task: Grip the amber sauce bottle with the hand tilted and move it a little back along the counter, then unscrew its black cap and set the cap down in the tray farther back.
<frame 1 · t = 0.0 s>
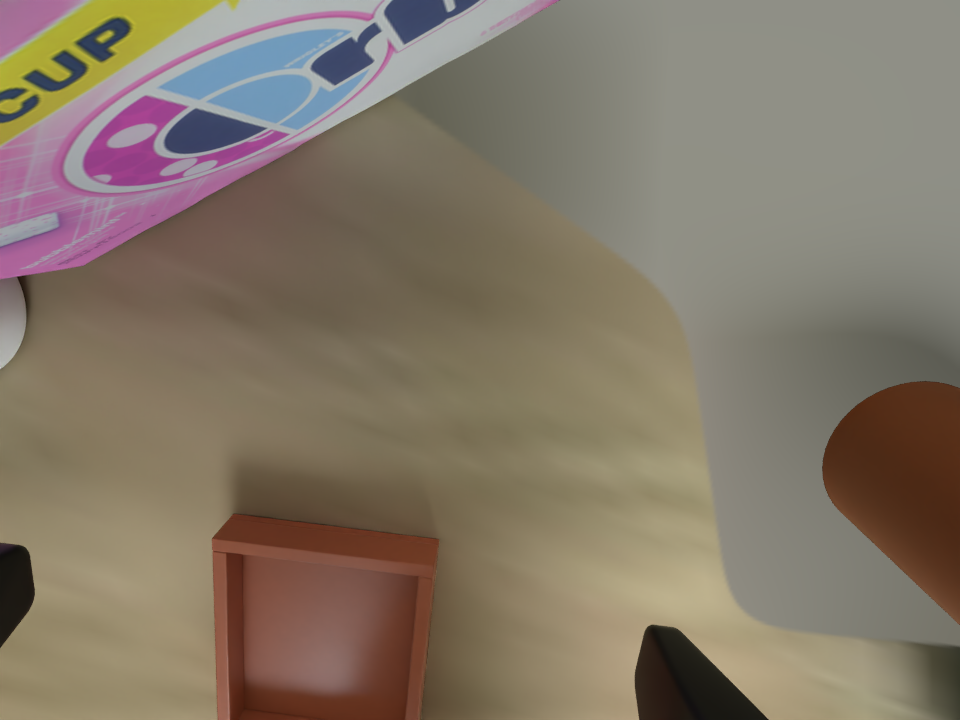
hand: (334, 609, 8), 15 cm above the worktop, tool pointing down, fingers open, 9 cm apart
tray: (331, 629, 26), on the worktop
gum box: (272, 26, 19), on the worktop
sauce bottle: (906, 458, 23), on the worktop
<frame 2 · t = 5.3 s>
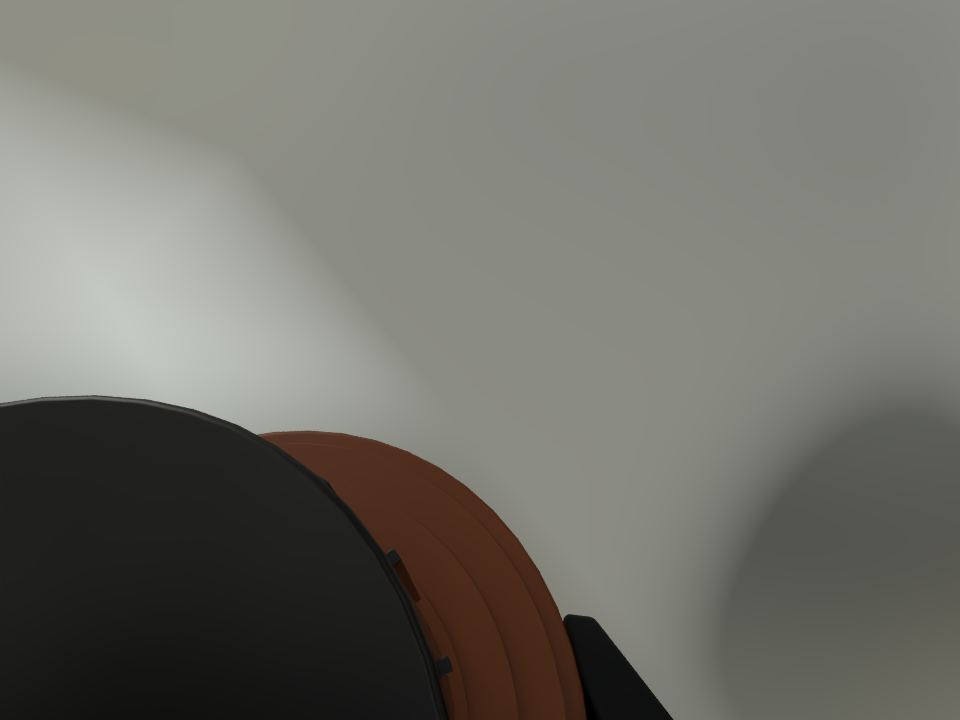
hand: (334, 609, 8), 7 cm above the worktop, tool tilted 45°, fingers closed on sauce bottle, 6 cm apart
sauce bottle: (371, 695, 13), on the worktop, touching gripper
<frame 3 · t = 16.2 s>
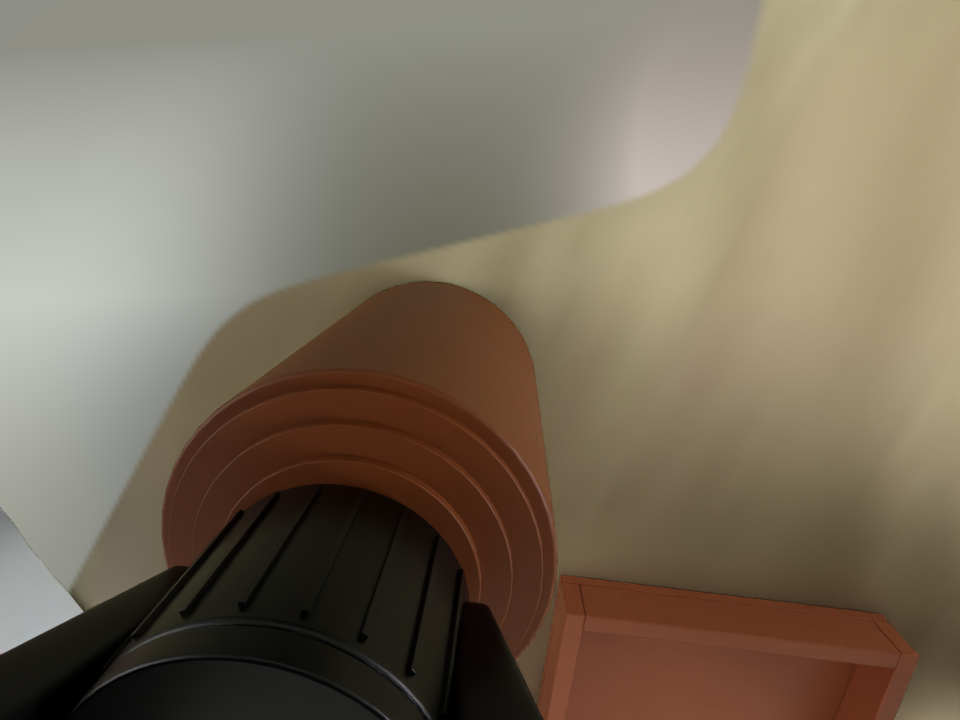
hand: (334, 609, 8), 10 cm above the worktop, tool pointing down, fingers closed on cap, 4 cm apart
tray: (691, 697, 21), on the worktop
gum box: (40, 673, 22), on the worktop
sauce bottle: (430, 385, 18), on the worktop
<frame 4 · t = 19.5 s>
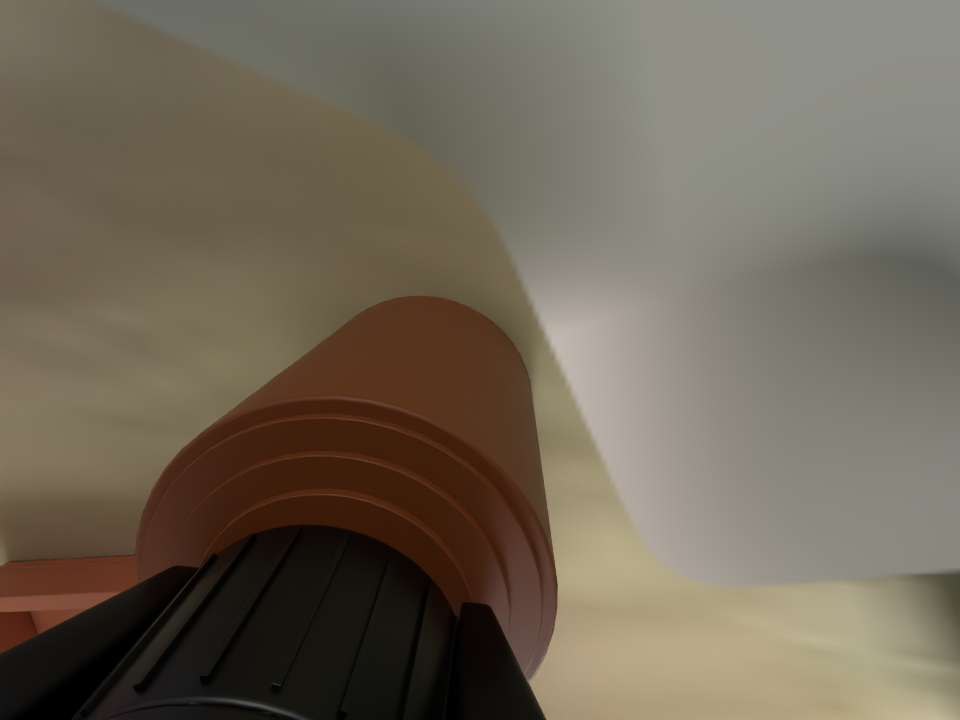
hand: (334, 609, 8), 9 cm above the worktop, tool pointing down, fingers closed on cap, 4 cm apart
tray: (171, 683, 21), on the worktop
sauce bottle: (423, 402, 17), on the worktop, touching gripper
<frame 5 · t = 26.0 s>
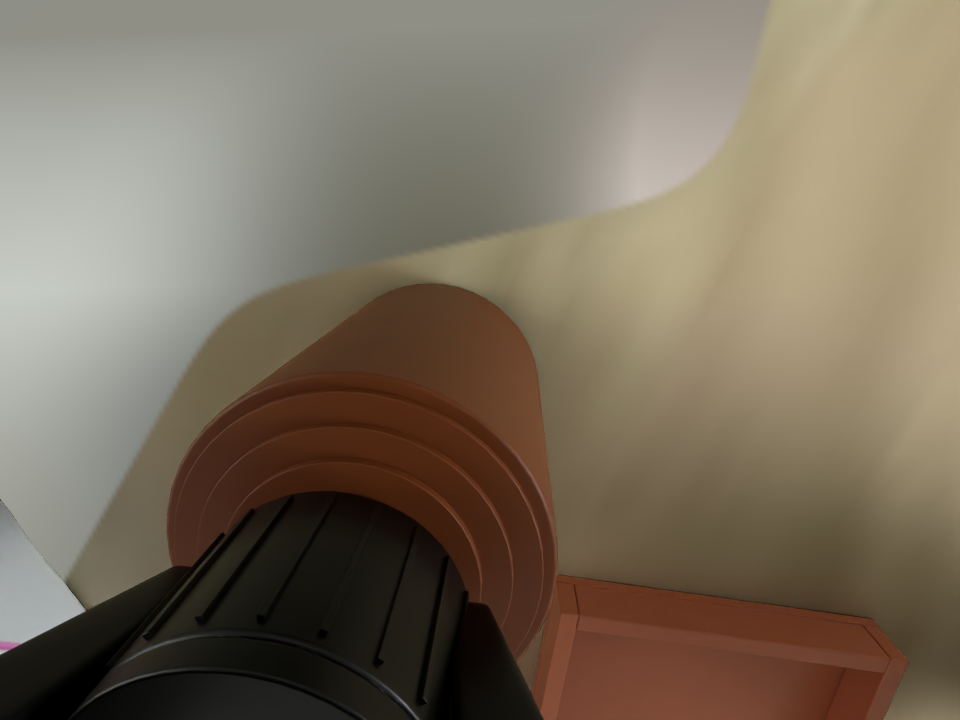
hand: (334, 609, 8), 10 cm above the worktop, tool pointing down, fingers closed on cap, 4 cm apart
tray: (682, 698, 21), on the worktop
gum box: (34, 663, 22), on the worktop
sauce bottle: (433, 387, 18), on the worktop
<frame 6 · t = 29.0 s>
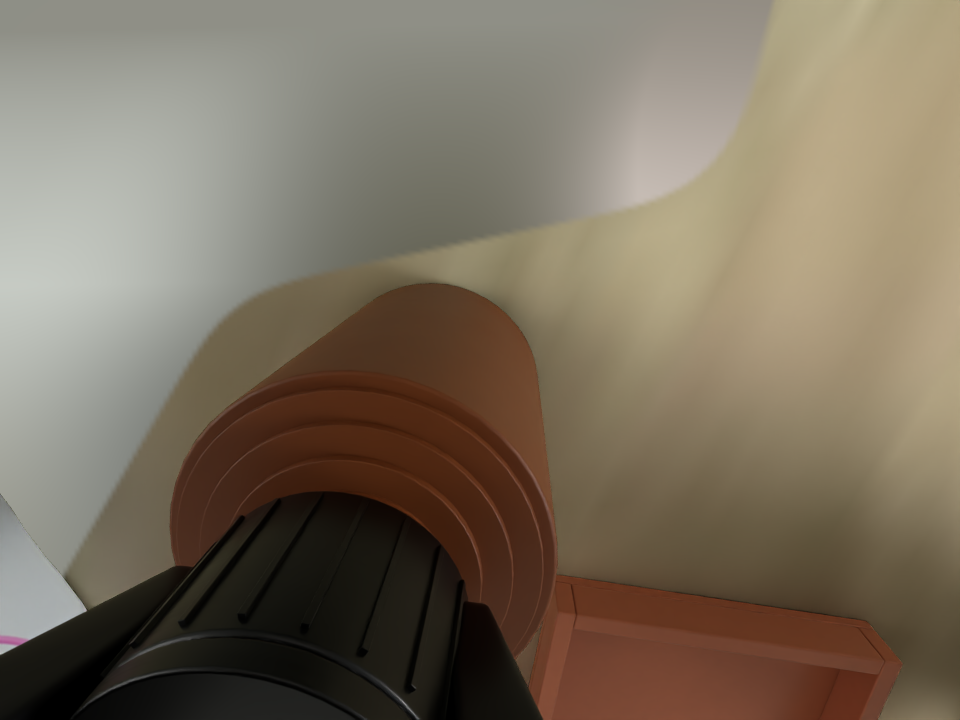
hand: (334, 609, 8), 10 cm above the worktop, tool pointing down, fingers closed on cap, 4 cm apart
tray: (678, 698, 21), on the worktop
gum box: (32, 657, 22), on the worktop
sauce bottle: (433, 386, 18), on the worktop
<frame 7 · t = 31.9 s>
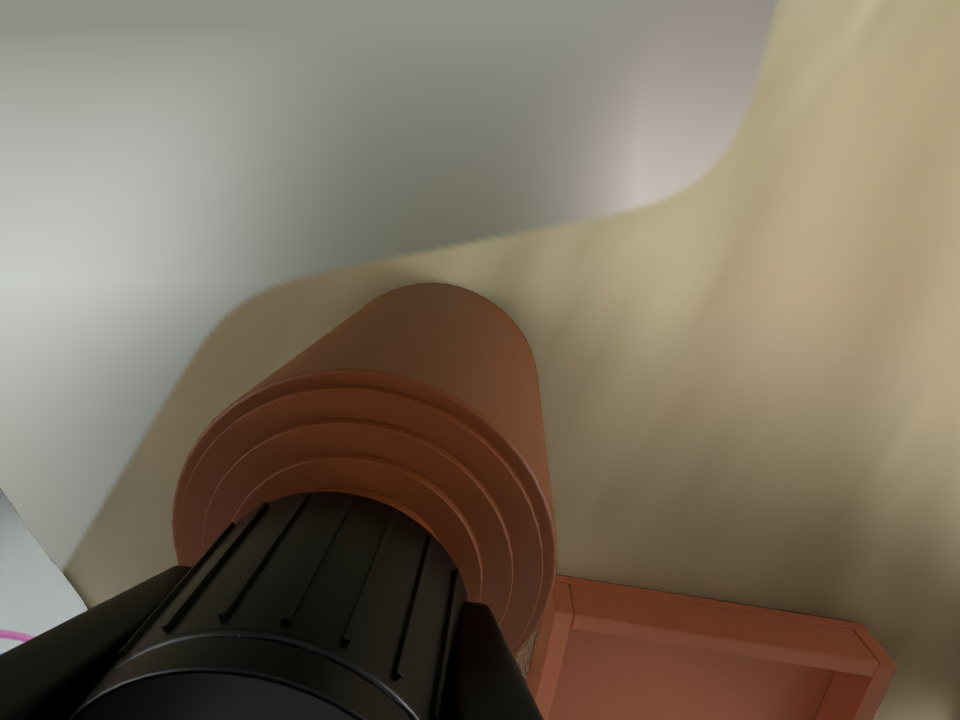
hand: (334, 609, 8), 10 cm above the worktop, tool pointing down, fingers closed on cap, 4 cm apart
tray: (673, 698, 21), on the worktop
gum box: (30, 652, 22), on the worktop
sauce bottle: (434, 385, 18), on the worktop
when the fingers open (1 cm above the worktop, at t = 42.1 s): cap stays where it is, resting on tray.
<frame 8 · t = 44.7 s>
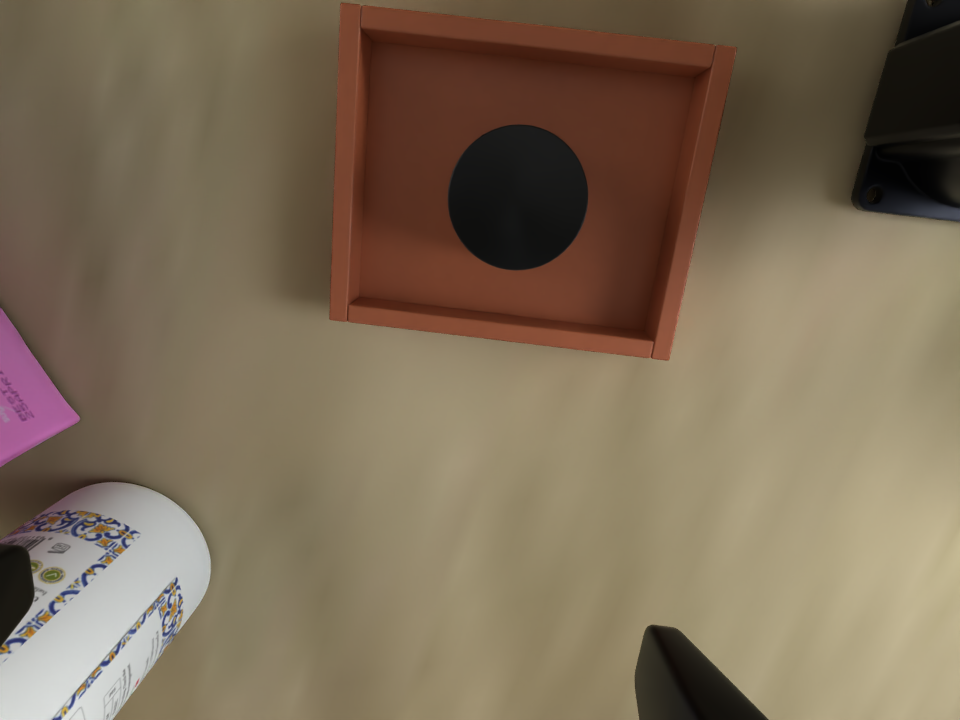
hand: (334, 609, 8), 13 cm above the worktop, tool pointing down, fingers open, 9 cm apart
cap: (517, 199, 16), point 3 cm above the worktop, off its thread, touching tray
tray: (515, 194, 19), on the worktop
bath foam: (138, 547, 24), on the worktop
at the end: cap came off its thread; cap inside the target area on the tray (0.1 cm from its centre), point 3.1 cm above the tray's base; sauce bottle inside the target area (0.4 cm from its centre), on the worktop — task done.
